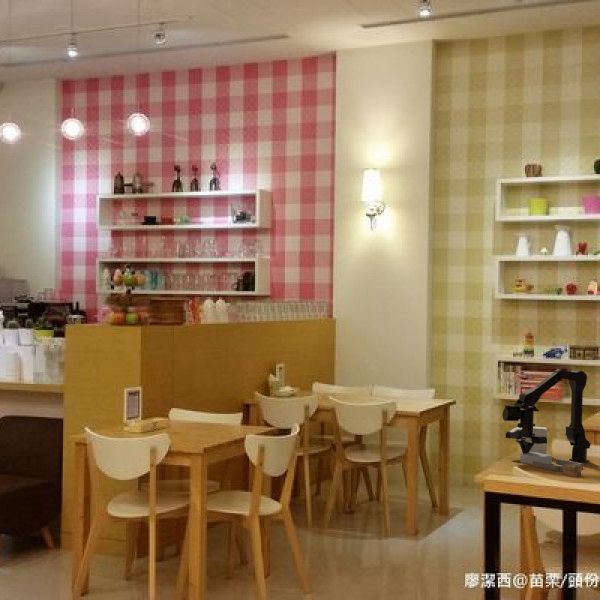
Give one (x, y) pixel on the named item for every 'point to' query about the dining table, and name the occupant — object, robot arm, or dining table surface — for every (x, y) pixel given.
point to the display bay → (554, 467)
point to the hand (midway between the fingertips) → (525, 457)
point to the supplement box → (539, 447)
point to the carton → (535, 458)
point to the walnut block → (572, 470)
